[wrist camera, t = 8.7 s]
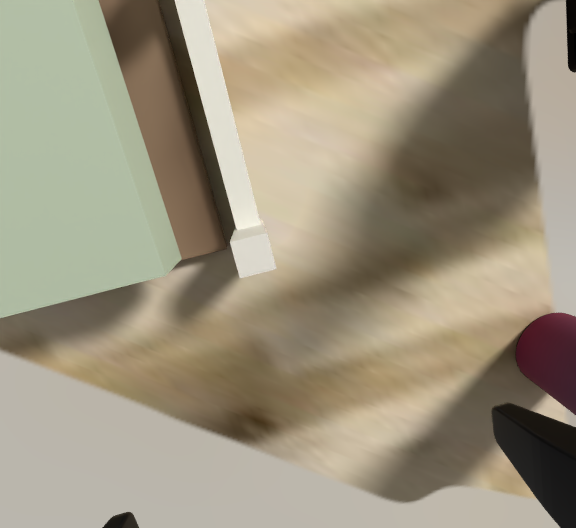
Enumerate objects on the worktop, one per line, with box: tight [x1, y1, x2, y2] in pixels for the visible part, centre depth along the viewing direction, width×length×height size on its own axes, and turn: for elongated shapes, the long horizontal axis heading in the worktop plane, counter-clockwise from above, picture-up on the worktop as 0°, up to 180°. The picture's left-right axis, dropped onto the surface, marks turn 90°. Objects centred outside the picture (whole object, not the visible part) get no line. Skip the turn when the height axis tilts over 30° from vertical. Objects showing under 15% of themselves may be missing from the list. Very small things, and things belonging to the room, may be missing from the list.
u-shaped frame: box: [174, 0, 276, 278], centre depth 15 cm, size 2×14×6 cm, turn 13°
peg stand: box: [99, 0, 227, 260], centre depth 16 cm, size 10×13×4 cm
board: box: [0, 0, 182, 318], centre depth 12 cm, size 12×6×3 cm, turn 13°
